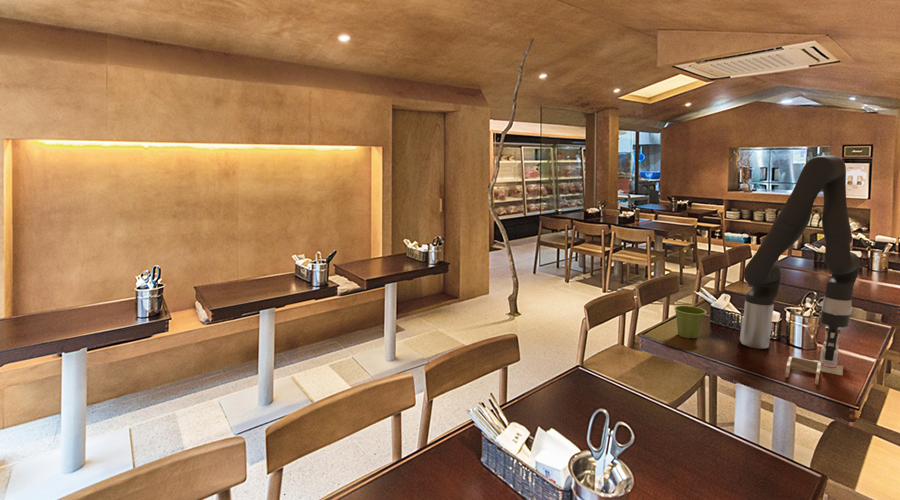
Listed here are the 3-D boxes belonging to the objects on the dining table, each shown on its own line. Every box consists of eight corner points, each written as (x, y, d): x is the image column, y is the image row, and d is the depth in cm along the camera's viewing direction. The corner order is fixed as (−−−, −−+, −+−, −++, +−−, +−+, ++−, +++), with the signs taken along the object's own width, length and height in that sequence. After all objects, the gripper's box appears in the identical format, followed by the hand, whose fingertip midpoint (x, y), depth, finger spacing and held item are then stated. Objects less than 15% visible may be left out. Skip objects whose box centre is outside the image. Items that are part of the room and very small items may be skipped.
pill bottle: (840, 370, 157) (843, 346, 156) (824, 369, 158) (827, 345, 157) (831, 364, 162) (834, 341, 160) (816, 363, 163) (819, 340, 161)
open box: (788, 366, 162) (789, 355, 161) (819, 373, 156) (821, 362, 156) (785, 376, 154) (786, 365, 153) (817, 384, 149) (819, 372, 148)
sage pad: (813, 361, 166) (813, 360, 166) (842, 367, 161) (843, 366, 160) (812, 369, 160) (812, 367, 160) (842, 375, 155) (842, 374, 154)
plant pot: (705, 342, 184) (707, 315, 182) (671, 338, 189) (674, 311, 187) (703, 333, 194) (705, 307, 192) (671, 329, 199) (673, 304, 197)
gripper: (822, 303, 164) (816, 347, 167) (820, 313, 153) (813, 359, 156) (850, 307, 159) (843, 352, 162) (850, 318, 149) (842, 366, 152)
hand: (828, 356), depth 159 cm, fingers open, 8 cm apart
